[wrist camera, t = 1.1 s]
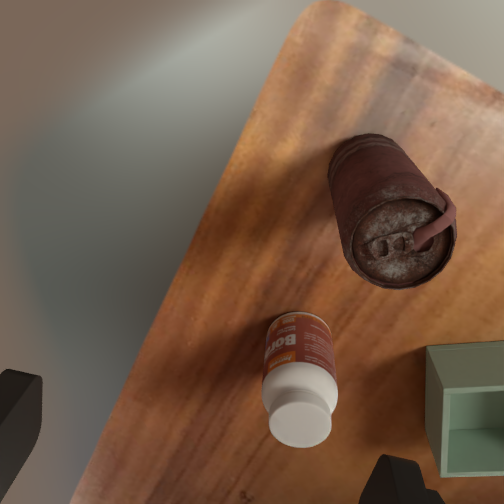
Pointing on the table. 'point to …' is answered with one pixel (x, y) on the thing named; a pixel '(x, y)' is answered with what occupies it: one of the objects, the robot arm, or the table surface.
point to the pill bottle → (299, 379)
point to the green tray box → (466, 408)
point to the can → (389, 214)
